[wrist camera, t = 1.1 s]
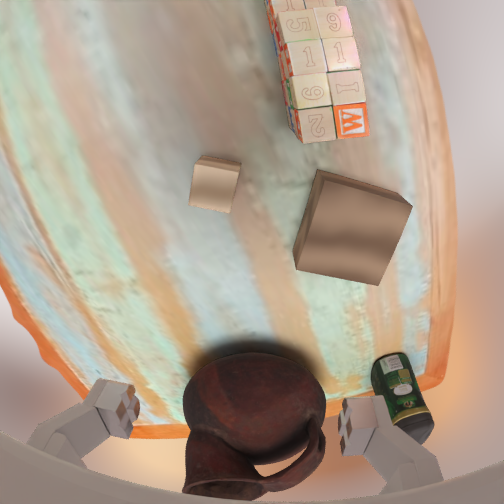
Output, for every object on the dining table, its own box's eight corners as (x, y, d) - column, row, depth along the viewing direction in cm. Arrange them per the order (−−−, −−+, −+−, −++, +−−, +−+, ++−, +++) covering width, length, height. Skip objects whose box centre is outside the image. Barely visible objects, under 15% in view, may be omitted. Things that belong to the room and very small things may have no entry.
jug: (323, 402, 62) (337, 507, 40) (211, 415, 65) (200, 514, 43) (314, 320, 51) (339, 459, 29) (170, 340, 54) (135, 466, 32)
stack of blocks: (256, -27, 27) (255, -69, 16) (306, -32, 26) (324, -73, 15) (289, 129, 37) (302, 145, 26) (338, 122, 36) (371, 137, 25)
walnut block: (317, 169, 39) (325, 180, 35) (397, 193, 40) (412, 206, 36) (292, 250, 45) (296, 269, 40) (368, 267, 46) (378, 285, 41)
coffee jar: (402, 378, 59) (427, 449, 42) (368, 385, 60) (387, 460, 43) (410, 347, 54) (442, 424, 38) (372, 355, 55) (398, 437, 39)
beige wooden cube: (202, 155, 39) (194, 164, 34) (241, 163, 39) (238, 172, 35) (195, 191, 41) (188, 205, 37) (233, 199, 41) (230, 213, 37)
